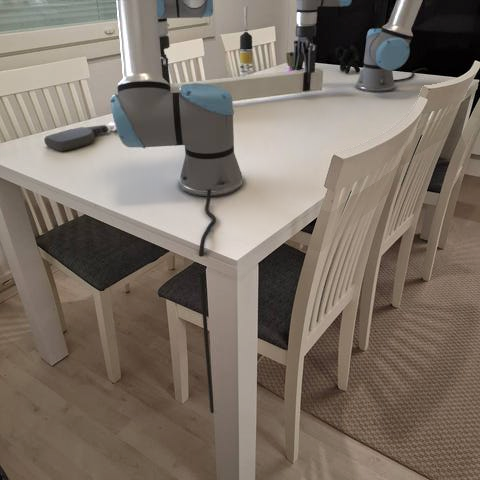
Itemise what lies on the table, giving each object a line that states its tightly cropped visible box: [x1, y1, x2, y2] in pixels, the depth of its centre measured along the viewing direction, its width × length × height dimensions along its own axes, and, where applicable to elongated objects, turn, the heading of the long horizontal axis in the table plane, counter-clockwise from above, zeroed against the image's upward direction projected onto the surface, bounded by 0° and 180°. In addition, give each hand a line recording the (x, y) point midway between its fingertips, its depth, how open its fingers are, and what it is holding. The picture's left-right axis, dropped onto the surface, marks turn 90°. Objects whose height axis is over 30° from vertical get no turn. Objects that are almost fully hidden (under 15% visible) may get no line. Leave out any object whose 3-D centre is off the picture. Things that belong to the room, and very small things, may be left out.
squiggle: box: [334, 45, 361, 74], centre depth 214 cm, size 11×10×15 cm
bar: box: [170, 67, 324, 102], centre depth 167 cm, size 71×5×7 cm, turn 112°
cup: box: [285, 51, 296, 71], centre depth 220 cm, size 8×7×8 cm
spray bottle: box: [44, 121, 117, 152], centre depth 139 cm, size 3×11×25 cm
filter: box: [239, 6, 253, 76], centre depth 196 cm, size 6×6×30 cm
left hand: (164, 105), depth 160 cm, fingers closed on bar, 5 cm apart
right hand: (302, 88), depth 178 cm, fingers closed on bar, 5 cm apart
